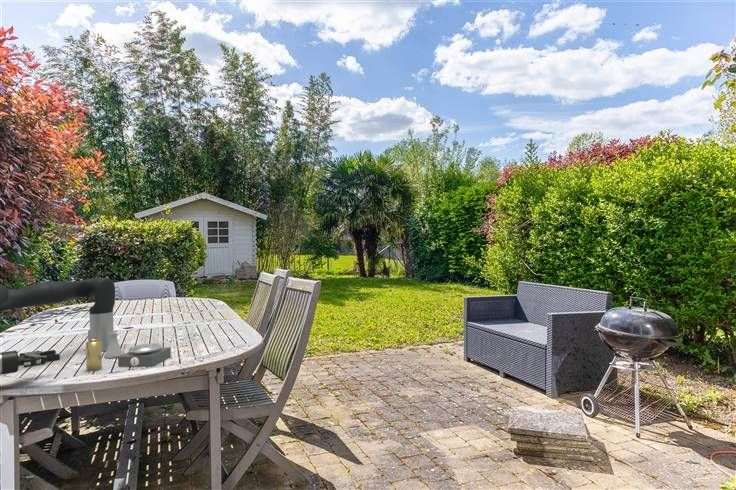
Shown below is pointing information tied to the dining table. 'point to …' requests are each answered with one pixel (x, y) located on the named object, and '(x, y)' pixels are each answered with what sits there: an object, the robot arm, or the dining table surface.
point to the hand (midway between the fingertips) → (57, 354)
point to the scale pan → (144, 348)
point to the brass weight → (93, 355)
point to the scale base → (144, 358)
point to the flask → (113, 347)
